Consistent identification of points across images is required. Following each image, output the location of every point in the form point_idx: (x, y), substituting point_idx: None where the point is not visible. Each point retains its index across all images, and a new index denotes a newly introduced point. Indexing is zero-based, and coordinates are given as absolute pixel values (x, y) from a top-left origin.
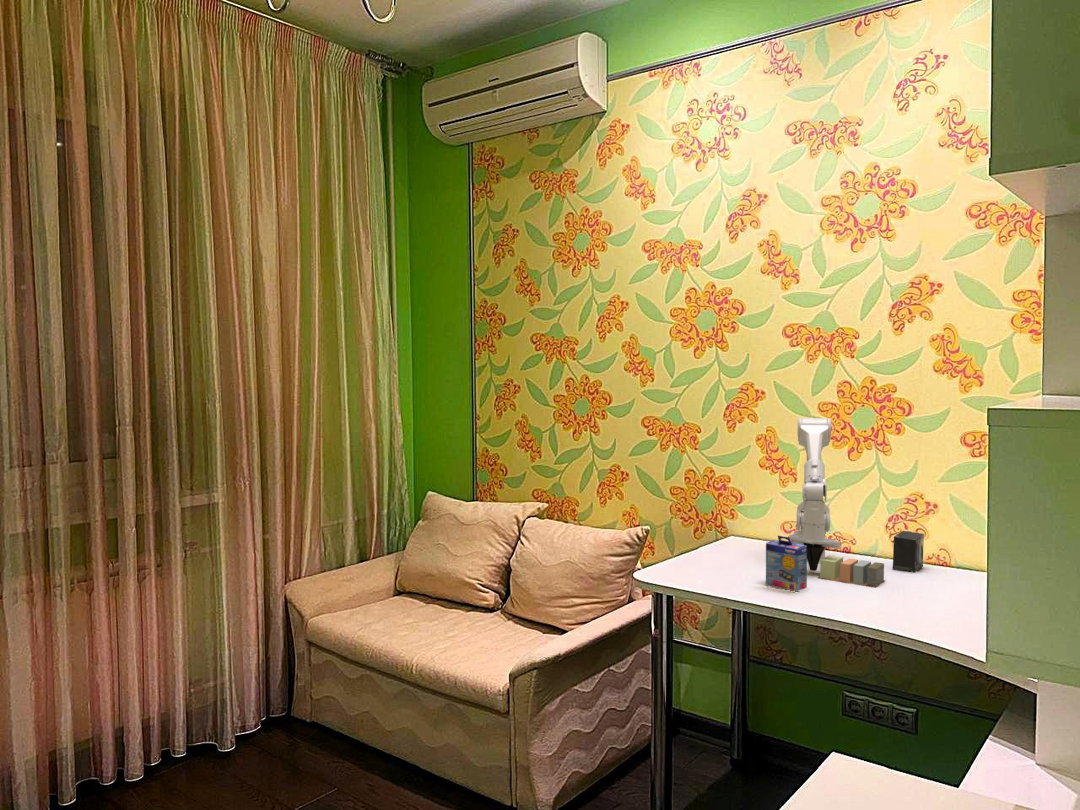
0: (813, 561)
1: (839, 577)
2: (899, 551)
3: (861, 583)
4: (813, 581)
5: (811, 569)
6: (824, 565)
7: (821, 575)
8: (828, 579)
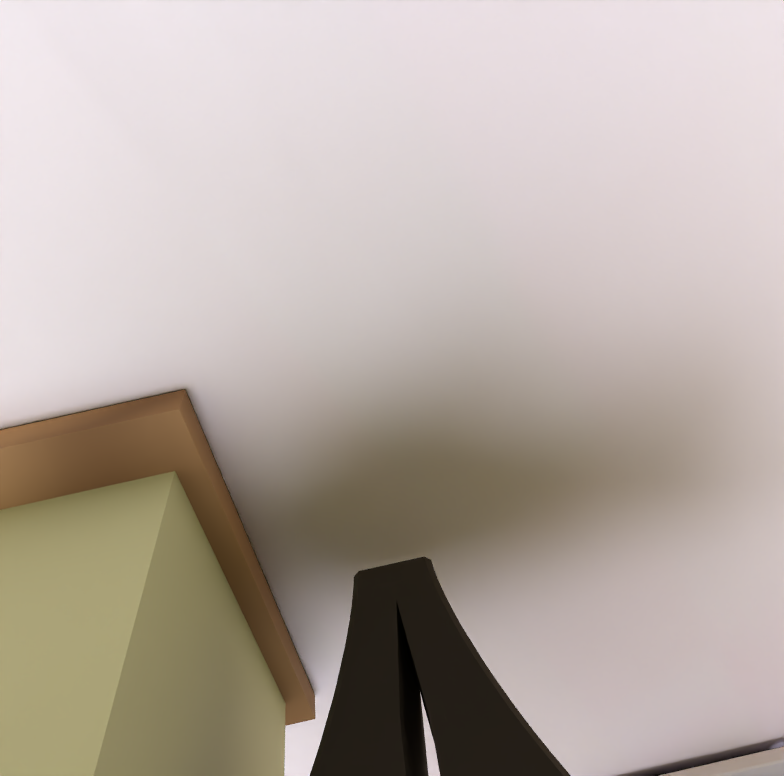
0: (370, 709)
1: None
2: None
3: None
4: (168, 290)
5: (400, 573)
6: (32, 683)
7: (144, 499)
8: (6, 475)
